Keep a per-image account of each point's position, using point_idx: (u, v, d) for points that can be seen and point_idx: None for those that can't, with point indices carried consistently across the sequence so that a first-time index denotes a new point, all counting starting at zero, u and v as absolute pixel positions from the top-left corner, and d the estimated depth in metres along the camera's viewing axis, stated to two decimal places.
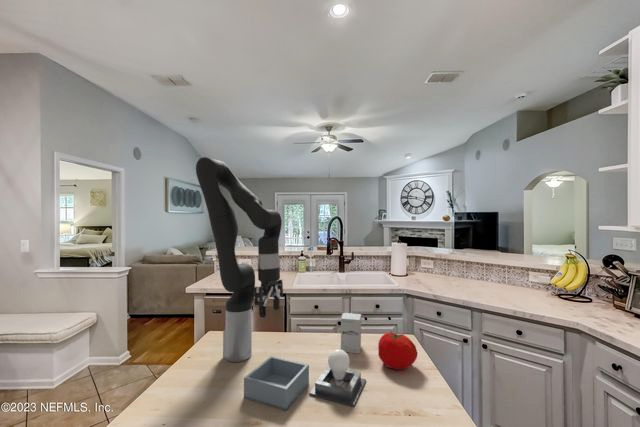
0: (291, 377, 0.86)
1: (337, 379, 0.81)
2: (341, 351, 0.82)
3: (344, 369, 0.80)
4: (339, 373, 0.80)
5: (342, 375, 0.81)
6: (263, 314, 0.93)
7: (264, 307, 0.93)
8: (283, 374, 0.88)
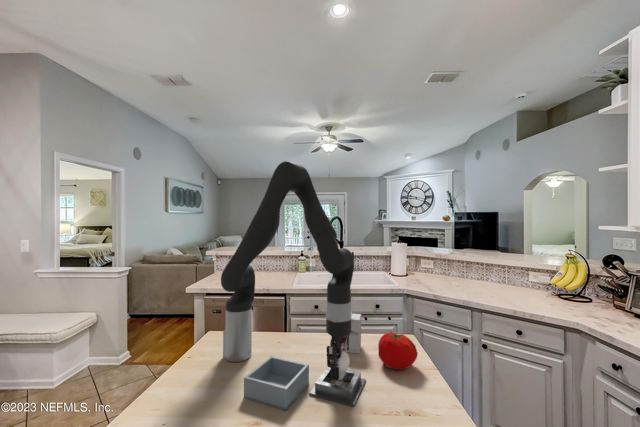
0: (291, 377, 0.86)
1: None
2: None
3: (344, 369, 0.80)
4: (339, 373, 0.80)
5: (342, 375, 0.81)
6: (336, 377, 0.79)
7: (337, 368, 0.79)
8: (283, 374, 0.88)
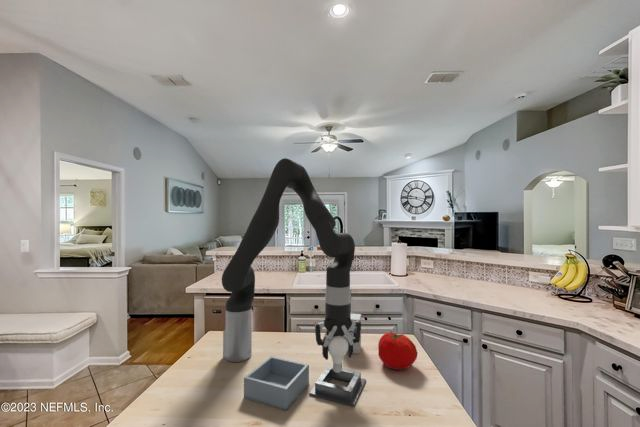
0: (291, 377, 0.86)
1: None
2: (338, 336, 0.82)
3: (333, 353, 0.80)
4: (331, 355, 0.81)
5: (335, 359, 0.81)
6: (324, 355, 0.81)
7: (325, 348, 0.81)
8: (283, 374, 0.88)
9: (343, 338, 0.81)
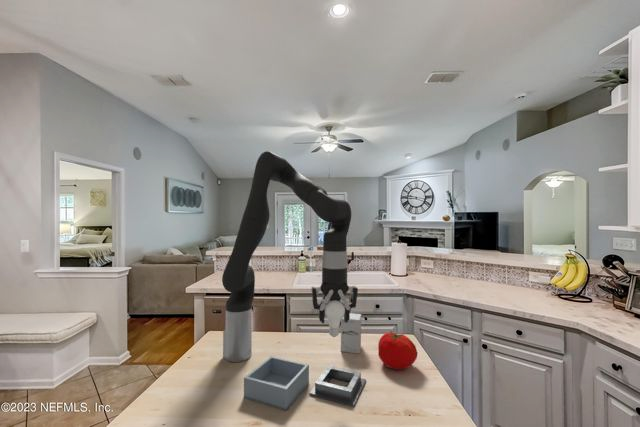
0: (291, 377, 0.86)
1: (329, 325, 0.83)
2: (334, 300, 0.82)
3: (329, 316, 0.81)
4: (328, 319, 0.82)
5: (331, 323, 0.82)
6: (320, 319, 0.82)
7: (322, 312, 0.82)
8: (283, 374, 0.88)
9: (339, 302, 0.82)
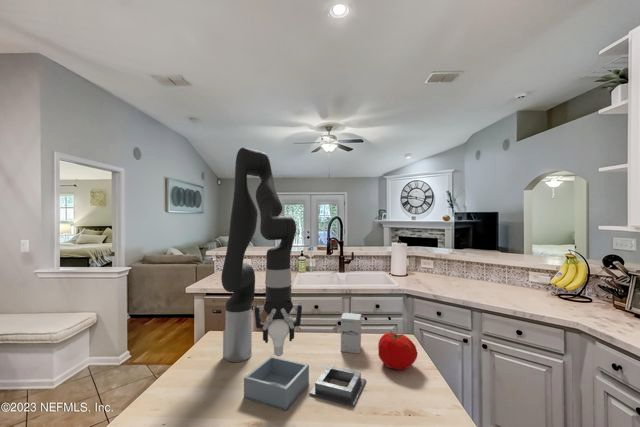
0: (291, 377, 0.86)
1: None
2: (278, 319, 0.81)
3: (272, 336, 0.79)
4: (271, 338, 0.81)
5: (275, 342, 0.80)
6: (264, 339, 0.81)
7: (265, 331, 0.81)
8: (283, 374, 0.88)
9: (283, 321, 0.81)
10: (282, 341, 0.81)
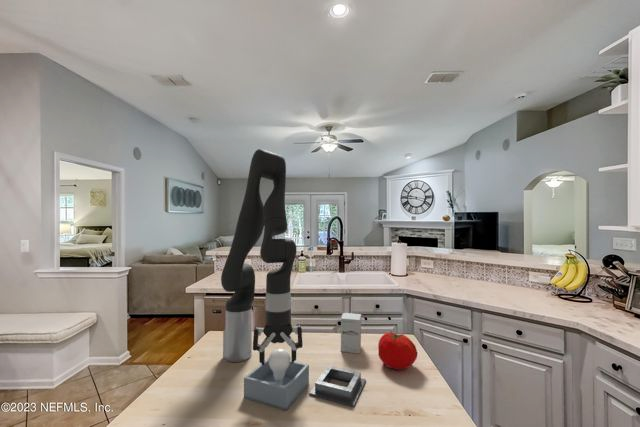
0: (291, 377, 0.86)
1: (274, 377, 0.81)
2: (279, 351, 0.81)
3: (272, 368, 0.79)
4: (272, 370, 0.81)
5: (275, 375, 0.80)
6: (260, 361, 0.80)
7: (261, 353, 0.80)
8: None
9: (284, 353, 0.81)
10: (283, 374, 0.80)
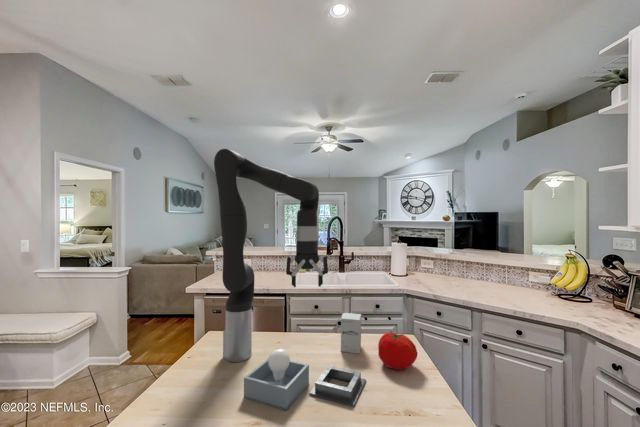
0: (291, 377, 0.86)
1: (274, 377, 0.81)
2: (278, 351, 0.81)
3: (272, 369, 0.79)
4: None
5: (275, 375, 0.80)
6: (292, 284, 0.95)
7: (293, 277, 0.95)
8: None
9: (283, 354, 0.81)
10: (282, 374, 0.80)
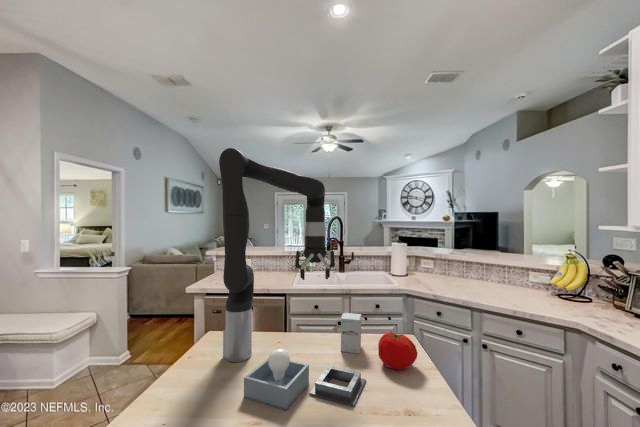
0: (291, 377, 0.86)
1: (274, 377, 0.81)
2: (278, 351, 0.81)
3: (272, 369, 0.79)
4: None
5: (275, 375, 0.80)
6: (301, 276, 1.00)
7: (302, 270, 1.00)
8: None
9: (283, 354, 0.81)
10: (282, 374, 0.80)
